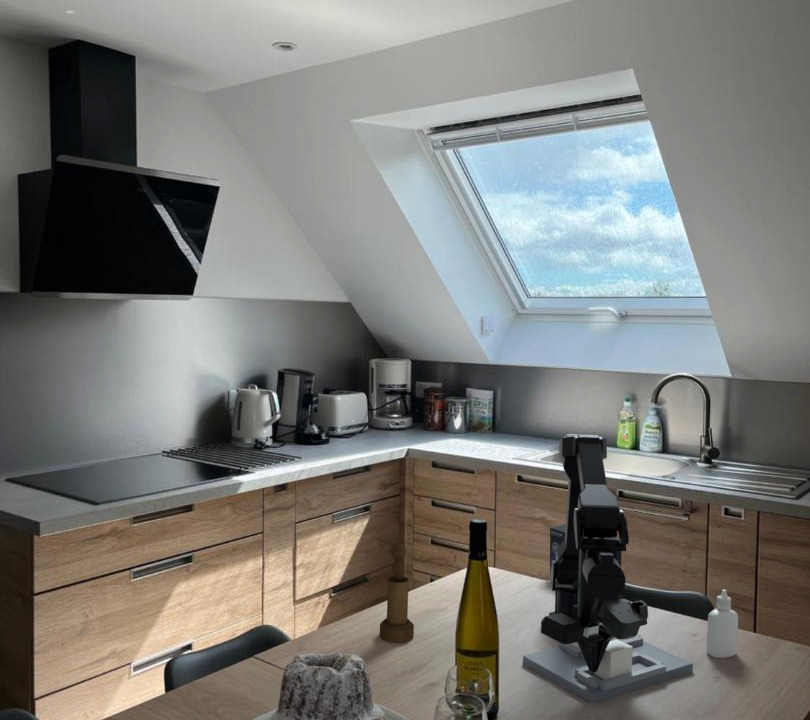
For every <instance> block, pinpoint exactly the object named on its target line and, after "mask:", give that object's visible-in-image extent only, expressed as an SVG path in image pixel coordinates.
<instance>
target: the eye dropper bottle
mask: <svg viewBox="0 0 810 720" xmlns="http://www.w3.org/2000/svg"><path fill="white" fill-rule="evenodd" d="M731 608H732V598H731V597H730V596H728V593H727V590H726V589H722V590H721V592H720V595H717V596H716V608H714V609H713V610H711V611H710V612H709V613H708V616H707V629H706V630H707V631H706V654H707V655H709V656H710V657H713V658H716V659H725V658H731V657H733V656H736V654H737V653H738V634H739V633H738V632H739V631H738V630H739V629H738V628H739V615H738V613H737V612H736V611H735V610H732V609H731Z"/></svg>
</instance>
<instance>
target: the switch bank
mask: <svg viewBox="0 0 810 720" xmlns="http://www.w3.org/2000/svg"><path fill="white" fill-rule="evenodd" d="M641 636H642V635H641V634H637V635H636V636H630V637H626V638H625V639H617V638H613V639H612V640H610V641H613V640H619V641H621V642H623V643H626V644H628V645H630V646H632V647H633V650H632V672H631V673H627V674H624V675H620V676H617V677H614V678H610V679H607V680H604V679H603V678H601V677H599V676H597V675H595V672H591V671H590V670H589V668H588V666H587V664H586V661H585V659H584V656H583V654H582V652H581V650H580V649H578V648H576V647H574V646H572V645H570V644H562V643H560V642H558V646H554V647H552V648H551V647H550V648H548V649H544V650H540V651H537V652H531V653H528V654H524V655H522V665H524V666H526V667H527V668H529V669H531V670H532V671H535V672H536V673H538V674H540V675H541V676H543V677H545V678H546V679H548V680H551V682H554V683H555V684H557V685H559V686H560V687H563V688H564V689H566V690H568V691H570V692H572V693H573V694H575V695H577V696H578V697H580V698H582V699H584V700H585V701H587V702H589V703H591V704H595V703H597V702H601V701H604V700H606V699H607V700H608V699H610V698H613V697H616V696H619V695H623V694H626V693H630V692H631V691H632V692H633V691H635V690H640V689H642V688H644V687H648V686H651V685H654V684H655V685H656V684H658V683H661V682H664V681H667V680H671V679H674V678H677V677H681V676H683V675H686V674H690V673H693V670H694V668H693V667H694V663H693V662H691V661H689V660H686V659H684V658H682V657H680V656H677V655H675V654H674V653H671V652H669V651H666V650H664V649H662V648H660V647H657V646H656V645H654V644H651V643H649V642H647V641H644V638H643V637H641Z"/></svg>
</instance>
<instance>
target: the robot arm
mask: <svg viewBox="0 0 810 720" xmlns="http://www.w3.org/2000/svg"><path fill="white" fill-rule="evenodd" d="M607 445H608V440H607V438H603V436H600V435H598V434H577V433H575V434H574V433H566V434H565V436H563V437H561V438H560V439H559V445H558V456H559V458H560V459H561V463H562V468H563V470H564V472H565V474H566V476H567V478H568V484H567V485H568V486H567V497H566V498H567V500H566V514H565V515H566V516H565V524H566V529H565V540H564V541H563V542H562V543H561V545H560V546H559V547H558V548H557V549H556V559H555V561H554V560H553V561H552V567H551V572H550V571H549V576H550V577H549V579H550V580H549V582H550V583H549V584H550V588H551V591H552V592H555V593H554V594H555V596H554V598H555V599H554V611H552V612H551V611H550V612H549V613H548V615H545V616H544V617H543V618H542V619H541V622H540V634H542V635H544V636H547V637H548V638H550V639H552V640H554V641H556V642H558V643H559V642H560V643H562V644H571V643H575V642H577V643H578V645H579V647H580V649H581V652H582V654H583V656H584V659H585V661H586V664H587V666H588V668H589V670H590V671H591V672H597V670H598V668H599V665H600V663H601V660H602V658H603V655H604V653H605V650H606V648H607V646H608V644H609V642H610V640H612V639H613V638H617V639H625V638H626V637H630V636H636V635H637V634H638V633H639V631H640V628H641V627H643V626H646V625H648V618H649V609H648V608H649V605H648V604H647V603H646V602H645V601H644V600H642V599H641V600H640V599H639V600H637V601H630V600H628V599H626V598H622V596H621V595H622V593H623V591H624V590H625V587H626V582H627V581H626V576H625V573H624V571H623V569H622V566H621V567H620V565H619V563H618V561H617V559H616V551H622V552H627V545H629V543H630V538H629V537H630V536H629V528H628V521H627V517H626V516H625V512H624V511H623V510H622V509H620V505H619V502H618V497H617V496H616V495H615V494H614V493H612V491H610V490H609V488H608V482H607V477H606V470H605V465H604V460H605V459H607V458H608V456H607V455H608V446H607ZM617 537H618V540H612V539H605V538H615V539H617ZM619 540H620V543H619ZM638 635H639V634H638Z"/></svg>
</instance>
